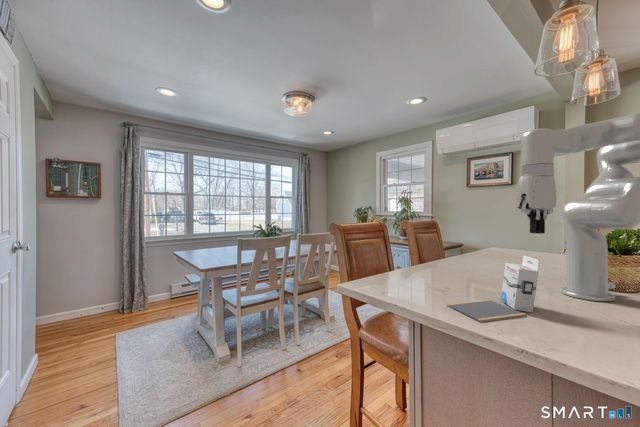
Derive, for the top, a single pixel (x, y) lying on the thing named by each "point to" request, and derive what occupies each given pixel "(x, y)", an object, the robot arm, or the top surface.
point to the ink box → (520, 284)
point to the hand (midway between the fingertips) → (537, 233)
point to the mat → (485, 310)
